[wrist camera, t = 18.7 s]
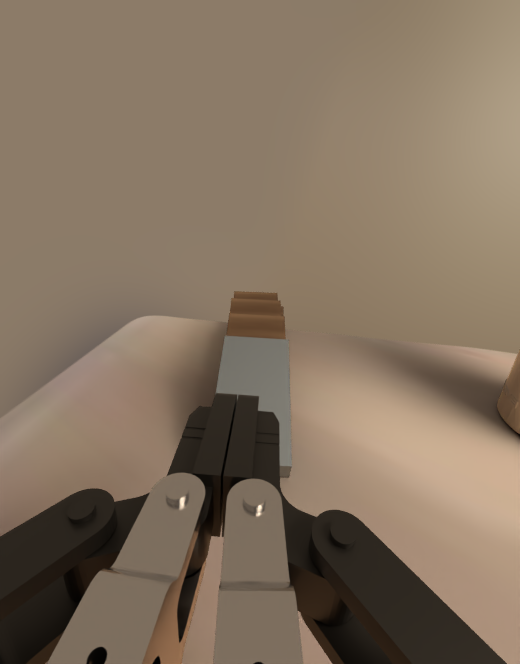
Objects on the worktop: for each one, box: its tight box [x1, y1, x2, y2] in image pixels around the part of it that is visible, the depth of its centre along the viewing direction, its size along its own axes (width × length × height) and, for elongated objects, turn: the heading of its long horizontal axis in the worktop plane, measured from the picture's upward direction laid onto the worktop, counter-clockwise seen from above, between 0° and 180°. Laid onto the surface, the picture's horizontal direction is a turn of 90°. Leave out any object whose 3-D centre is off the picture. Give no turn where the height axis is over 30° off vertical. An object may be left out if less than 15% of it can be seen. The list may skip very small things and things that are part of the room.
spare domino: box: [215, 336, 292, 477], centre depth 23 cm, size 2×5×10 cm
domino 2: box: [226, 313, 285, 339], centre depth 28 cm, size 2×5×10 cm
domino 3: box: [230, 298, 281, 316], centre depth 32 cm, size 2×5×10 cm
